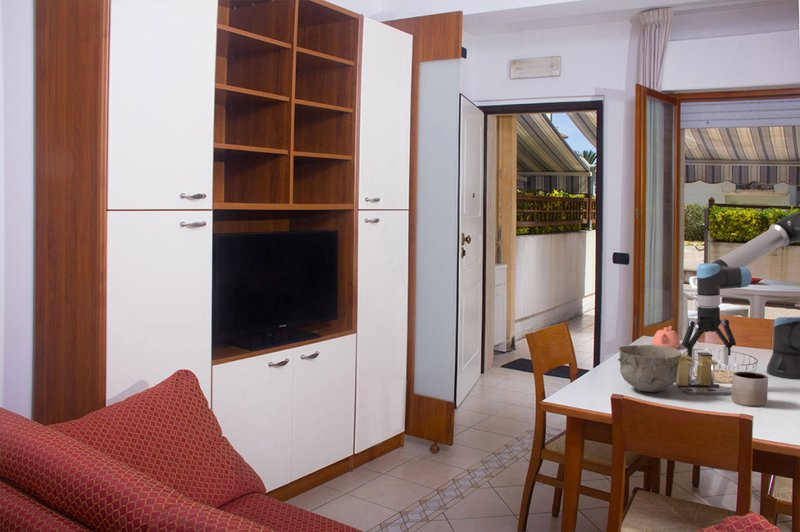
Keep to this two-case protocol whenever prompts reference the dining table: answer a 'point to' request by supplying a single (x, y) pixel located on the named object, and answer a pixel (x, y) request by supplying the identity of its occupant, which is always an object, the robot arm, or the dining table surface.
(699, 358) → the sliding leg
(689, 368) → the fixed leg
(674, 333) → the teapot
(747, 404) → the planter
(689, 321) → the robot arm
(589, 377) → the dining table surface
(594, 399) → the dining table surface
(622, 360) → the bowl
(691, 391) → the hole plate
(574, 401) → the dining table surface
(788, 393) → the dining table surface
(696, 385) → the rail
